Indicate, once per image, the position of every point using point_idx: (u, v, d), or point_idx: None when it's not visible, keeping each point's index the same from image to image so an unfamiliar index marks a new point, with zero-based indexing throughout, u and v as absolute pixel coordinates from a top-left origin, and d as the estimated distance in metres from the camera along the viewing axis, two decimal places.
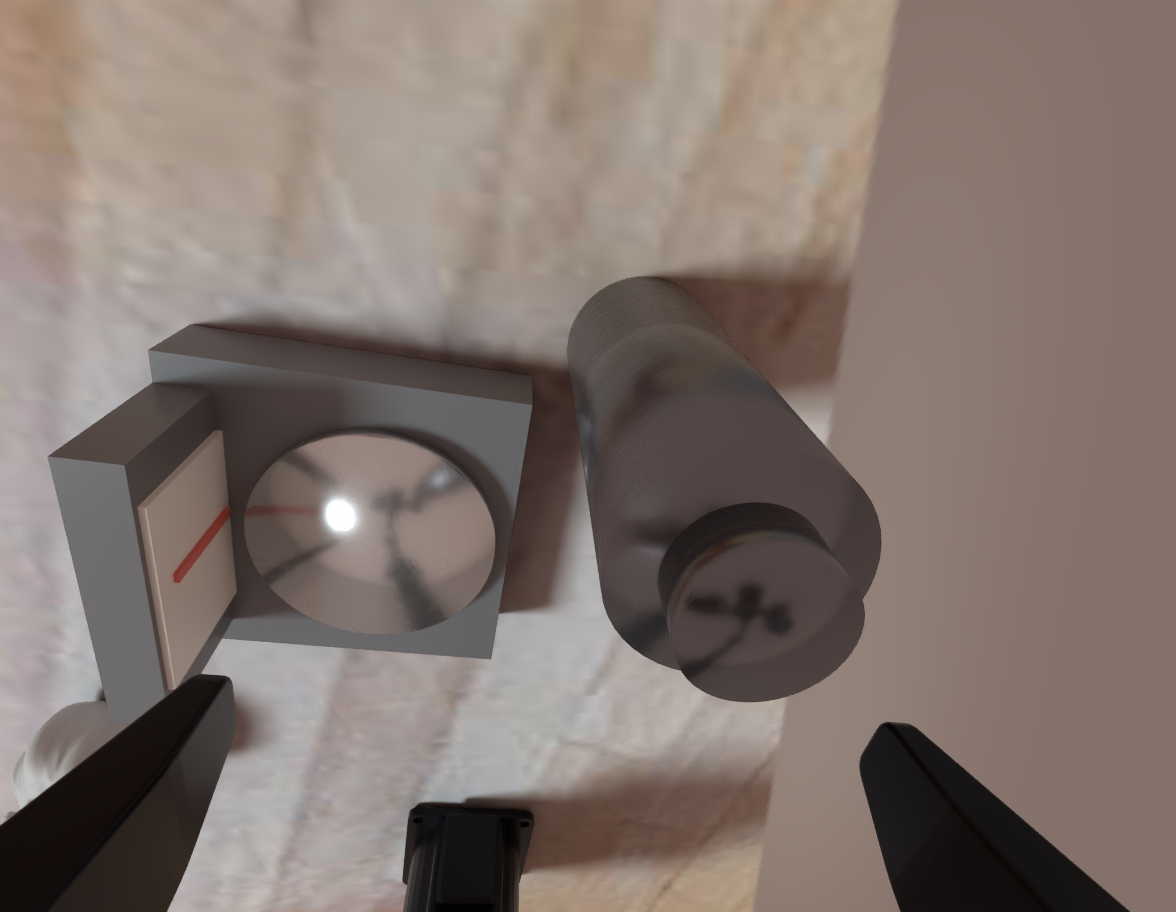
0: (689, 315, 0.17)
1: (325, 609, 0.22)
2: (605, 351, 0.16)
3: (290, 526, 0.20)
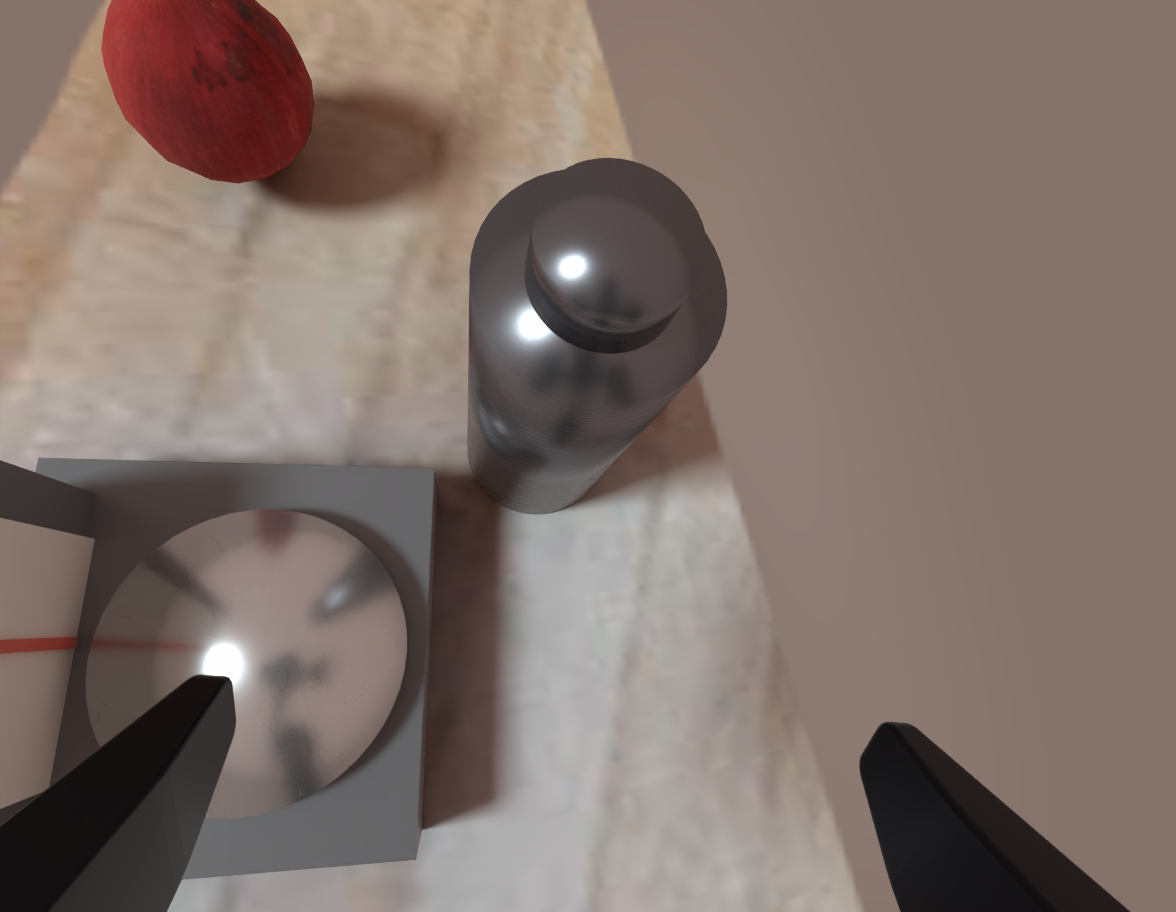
0: None
1: None
2: None
3: (150, 641, 0.17)
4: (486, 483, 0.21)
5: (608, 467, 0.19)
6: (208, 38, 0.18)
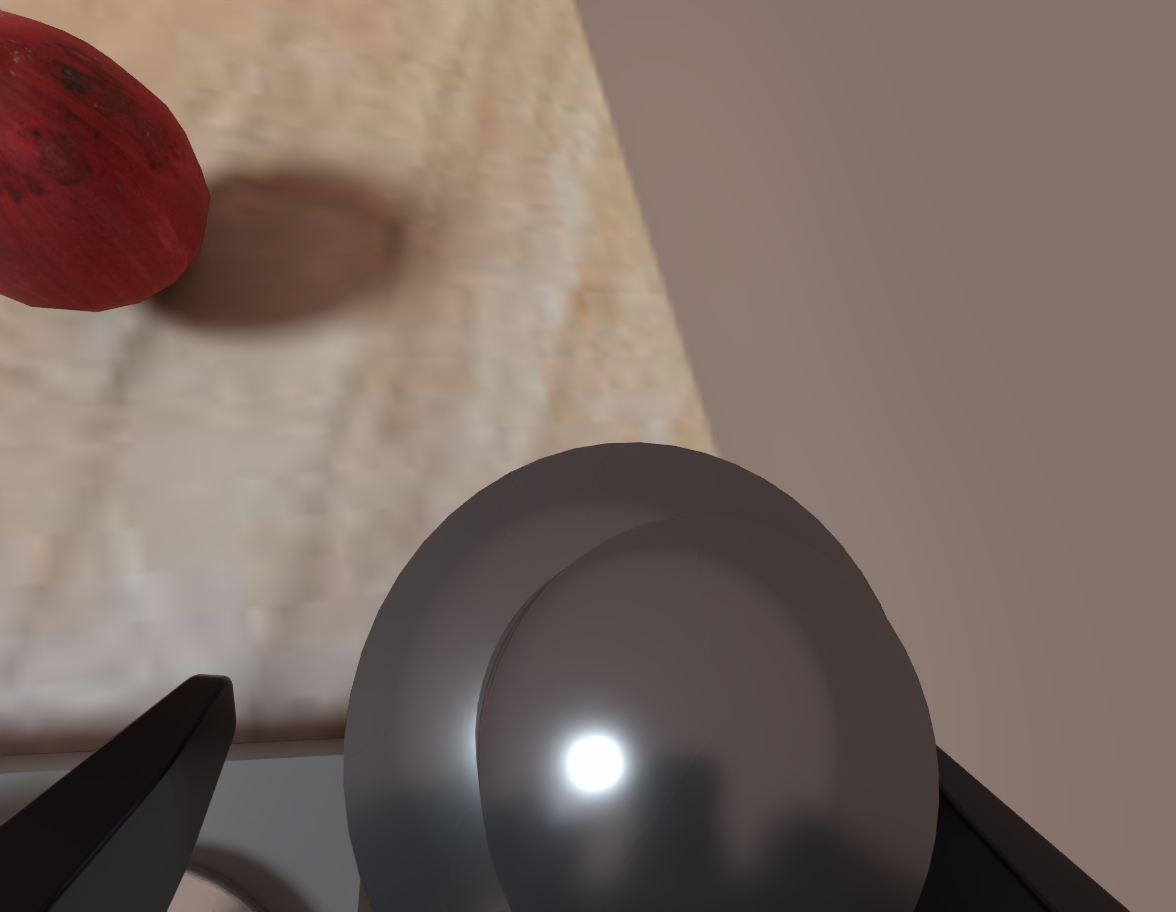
0: None
1: None
2: None
3: None
4: None
5: None
6: (4, 124, 0.11)
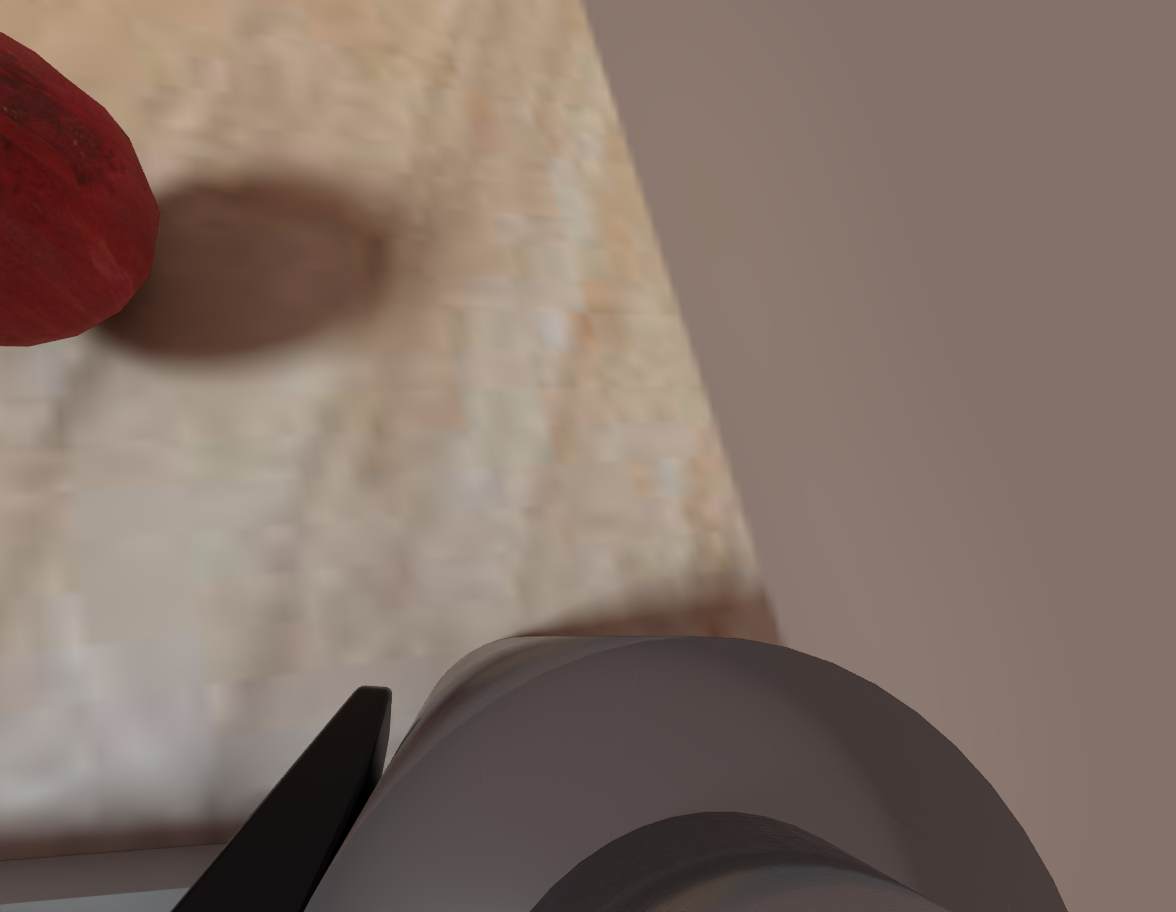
0: None
1: None
2: (421, 711, 0.10)
3: None
4: None
5: None
6: None
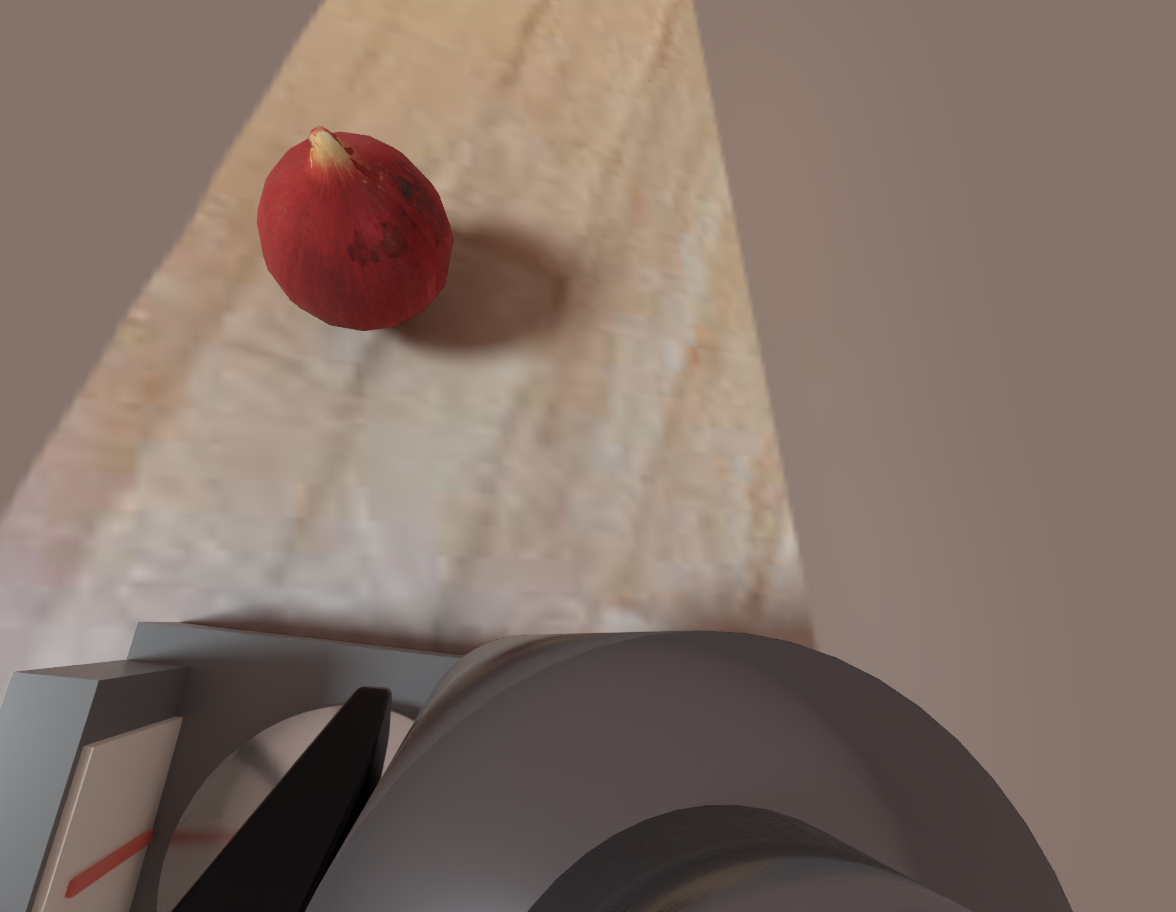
0: None
1: None
2: (422, 708, 0.10)
3: None
4: None
5: None
6: (369, 219, 0.17)
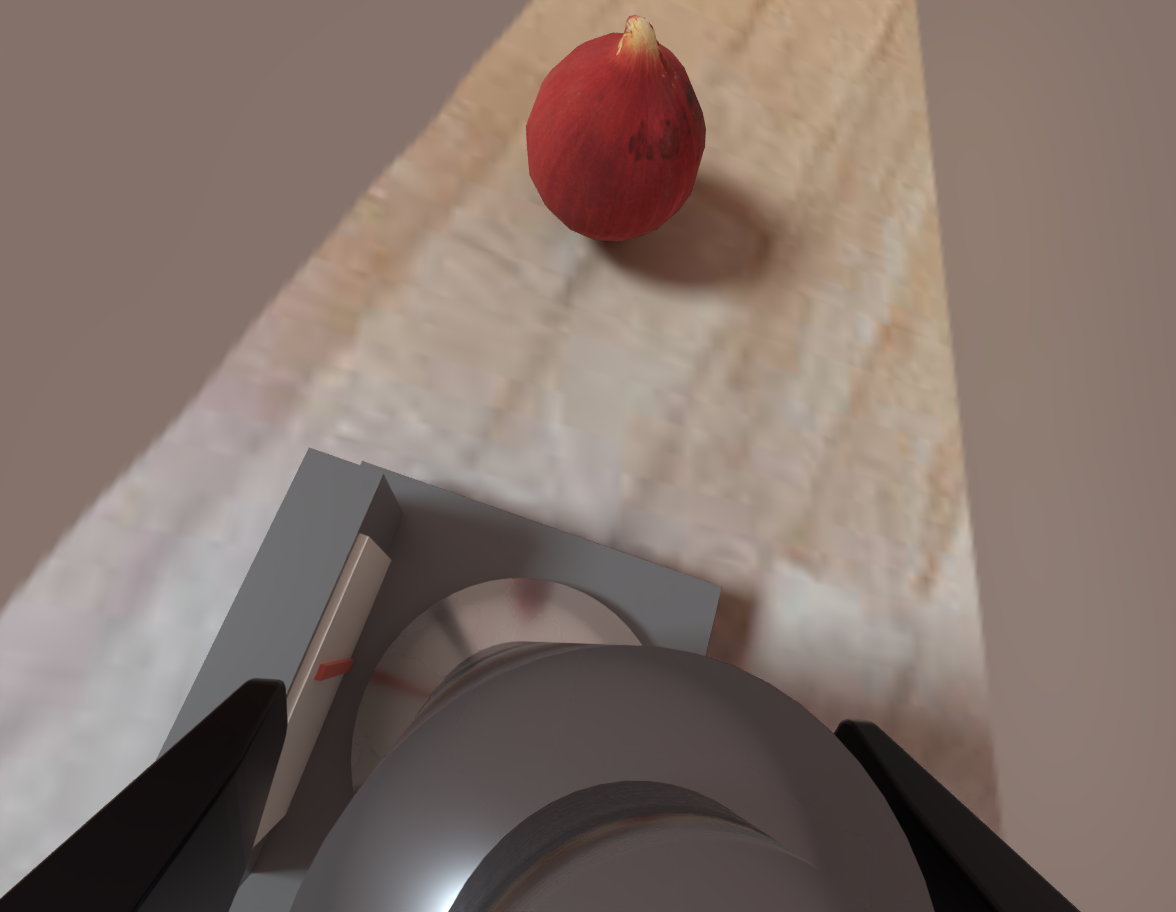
0: None
1: None
2: None
3: (425, 691, 0.16)
4: None
5: None
6: (657, 113, 0.18)
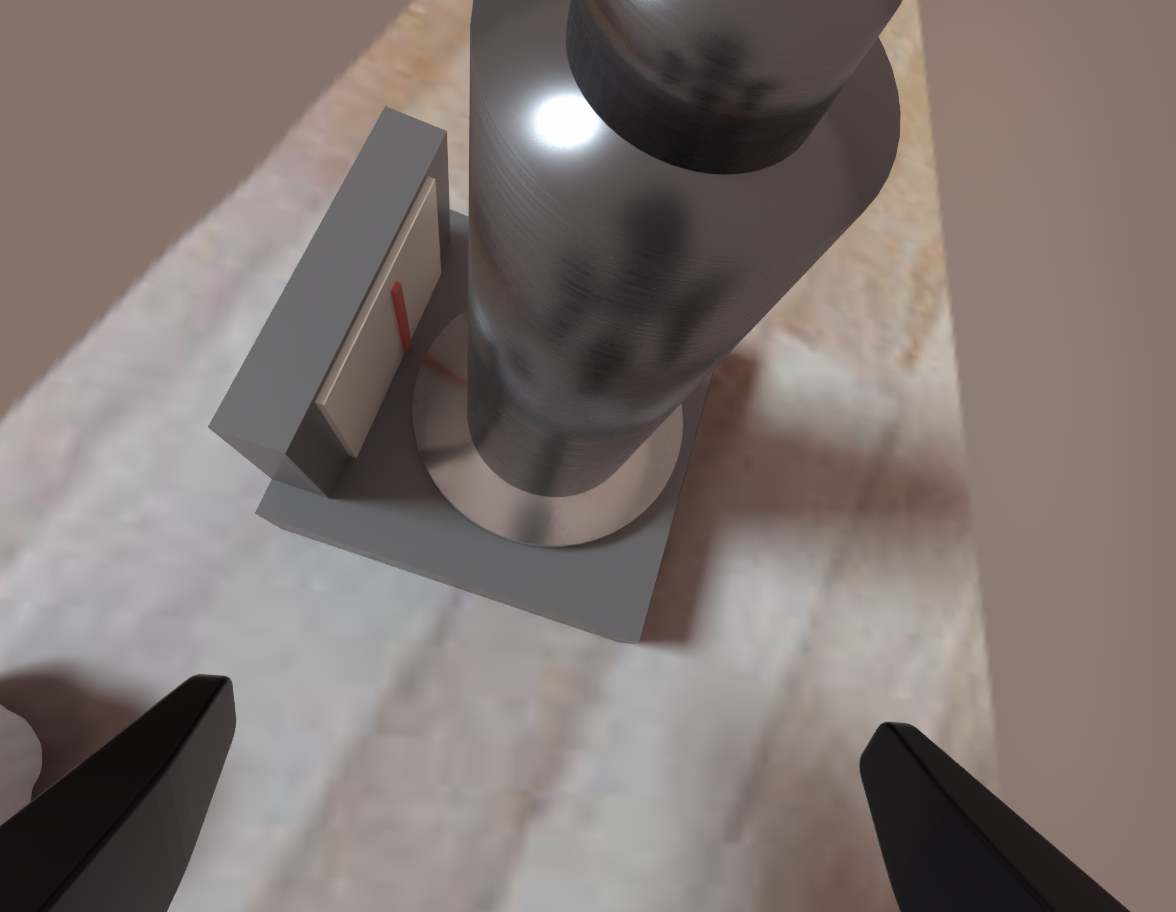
0: None
1: (466, 485, 0.17)
2: None
3: None
4: (491, 454, 0.16)
5: (658, 426, 0.14)
6: None
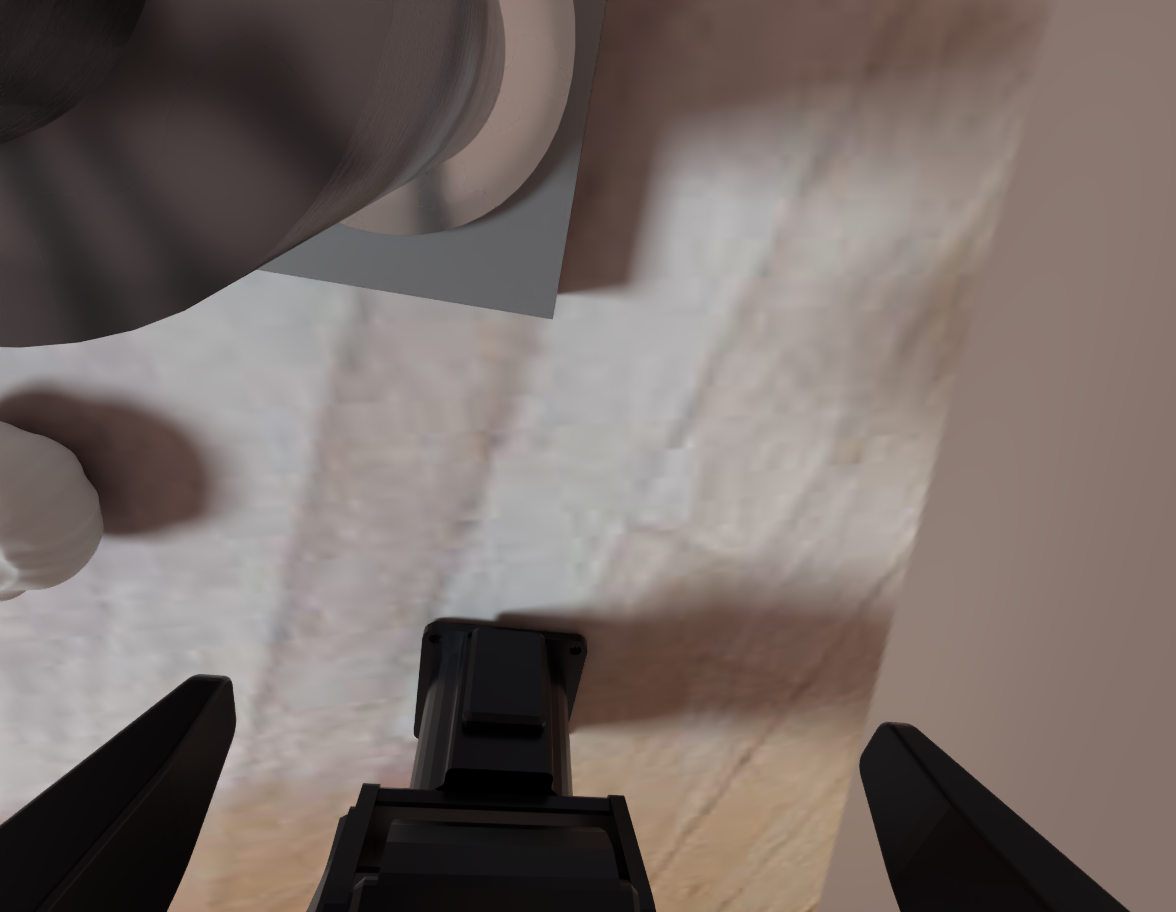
0: None
1: None
2: None
3: None
4: None
5: (463, 132, 0.10)
6: None
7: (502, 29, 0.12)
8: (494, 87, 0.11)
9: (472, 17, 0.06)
